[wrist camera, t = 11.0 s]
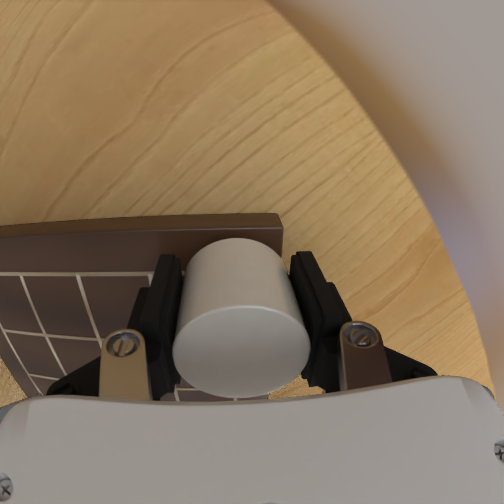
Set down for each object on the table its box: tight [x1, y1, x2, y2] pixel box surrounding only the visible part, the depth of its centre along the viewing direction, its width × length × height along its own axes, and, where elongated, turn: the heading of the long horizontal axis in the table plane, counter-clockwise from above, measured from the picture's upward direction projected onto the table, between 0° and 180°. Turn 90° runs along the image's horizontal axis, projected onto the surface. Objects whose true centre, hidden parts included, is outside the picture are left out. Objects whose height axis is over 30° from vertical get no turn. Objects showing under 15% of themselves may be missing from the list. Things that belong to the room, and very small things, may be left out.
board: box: [0, 213, 284, 402], centre depth 17 cm, size 20×18×2 cm
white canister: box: [172, 238, 311, 398], centre depth 11 cm, size 4×4×4 cm
